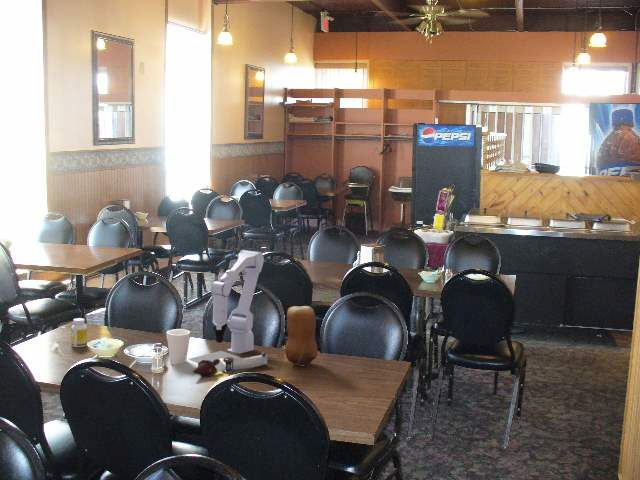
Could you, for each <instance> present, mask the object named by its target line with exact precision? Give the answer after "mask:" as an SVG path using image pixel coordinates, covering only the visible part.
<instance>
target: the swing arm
mask: <svg viewBox="0 0 640 480" xmlns="http://www.w3.org/2000/svg"><path fill="white" fill-rule="evenodd" d="M223 361H224V362H226V363H231V369H232V370H235V369H241V368H246V367H252V366H257V365H262V366H264V365H267V364H268V355H267V353H266V352H265V351H262V352H261V354H259V355H253V356H252V355H251V356H248V357H241V359H237V358H231V357H226V358H224V359H223Z"/></svg>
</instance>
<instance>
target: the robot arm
mask: <svg viewBox="0 0 640 480" xmlns="http://www.w3.org/2000/svg"><path fill="white" fill-rule="evenodd" d="M264 261H265V259H264V254H263V252H261V251H253V250H245V249H241V250H240V252H239V253H238V254H237V261H235V263H234V265H233V266H232V267H231V269H227V270H226V271H225V272H224V273H223V274H222V276H220V278H219V279H218V280H215V281H213V283H212V284H211V285H210V293H211V298H212V301H213V302H212V303H213V307H212V308H213V309H212V310H213V311H212V316H213V317H212V324H213V326H212V329H213V331H214V334H215V339H216V343H221V344H222V343H223V342H224V336H225V335H224V334H225V332H226V329H227V328H228V329H229V331H230V332H231V338H230V339H231V342H230V344H231V345H230V348H227V349H226V350H227V351H229V352H232V353H236V354H242V353H247V352H251V351H255V349H254V339H255V337H254V333H253V331H252V328H253V325H254V323H253V322H254V314H253V312H251V311H250V308H251V304H252V301H253V297H254V294H255V291H256V285H257V282H258V278H259V275H260V273H261V272H262V270H263V269H262V268H263V266H264ZM242 271H245V272H246V274H245V279H244V283H243V285H242V290H241V293H240V296H239V297H240V298H239V300H238V301H239V302H238V304H237V307H236V308H235V309H233V310H231V313H230V315H229V317H228V296H229V295H230V293H231V290H232V288H233V285H234V283H236V281H238V277H239V276H238V275H239V274H241V272H242Z"/></svg>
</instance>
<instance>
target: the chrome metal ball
mask: <svg viewBox="0 0 640 480" xmlns="http://www.w3.org/2000/svg"><path fill="white" fill-rule="evenodd" d="M221 373H222V374H226V373H233V374H235V373H234V370H232V369H231V363H226V367H225V369H223V370H222V372H221Z"/></svg>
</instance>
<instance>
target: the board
mask: <svg viewBox="0 0 640 480" xmlns="http://www.w3.org/2000/svg"><path fill="white" fill-rule="evenodd" d="M226 357H231V358H237V359H241V358H242V357H240V356H238V355H235V354H232V353H228V352H225V351H223V350H218V351H215V352H210V353H206V354H203V355H198V356H195V357H190V358H188V360H189V361H191V362H194V363H196V364H198V363H199V362H201V361H202V360H210V361H211V362H213V361H214V360H215V359H220V358H226ZM261 366H263V365H257V366H252V367H246V368H241V369H235V370H234V373H225V374H227V375H233V374H237V373H240V372H243V371H247V370H251V369H253V368H258V367H261ZM215 367H216V368H217V371H219V372H221V373H223V372H222V370H223V369H225V366H224V365H223V364H222V363H221V361H220V362H219V364H217V365H216V366H215Z"/></svg>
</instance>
